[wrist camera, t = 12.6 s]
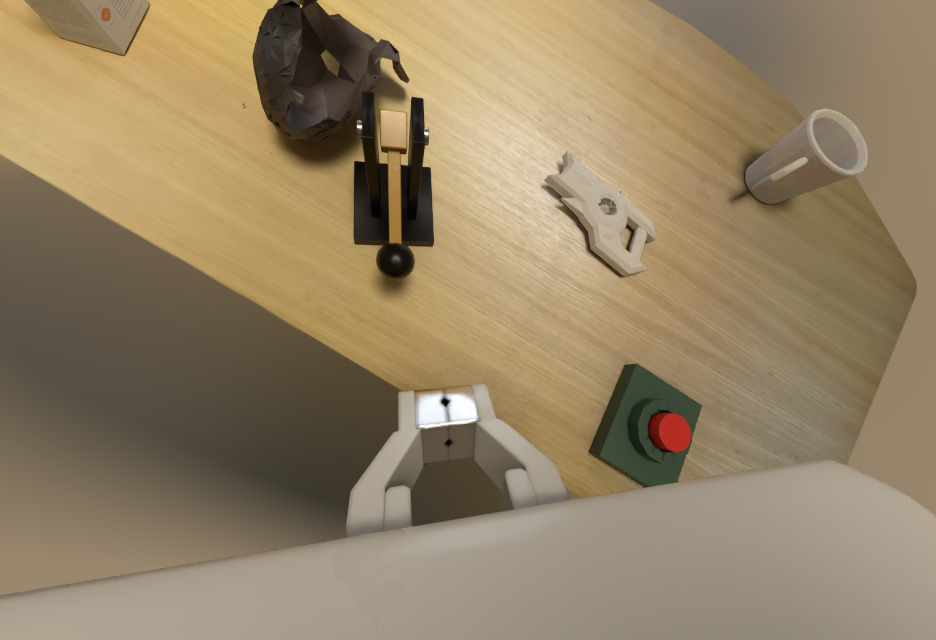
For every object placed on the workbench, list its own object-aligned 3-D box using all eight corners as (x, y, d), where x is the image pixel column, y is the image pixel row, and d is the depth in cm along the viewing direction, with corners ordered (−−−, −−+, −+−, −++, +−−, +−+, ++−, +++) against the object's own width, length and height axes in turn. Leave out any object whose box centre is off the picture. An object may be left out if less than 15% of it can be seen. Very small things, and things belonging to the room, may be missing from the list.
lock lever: (413, 276, 34) (415, 282, 31) (377, 276, 34) (376, 282, 30) (413, 123, 30) (416, 110, 27) (372, 118, 30) (370, 105, 26)
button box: (657, 494, 40) (685, 505, 36) (588, 452, 39) (609, 459, 35) (687, 404, 43) (715, 406, 39) (625, 364, 42) (647, 361, 38)
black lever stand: (432, 246, 40) (451, 175, 27) (355, 244, 38) (333, 166, 25) (429, 173, 42) (445, 73, 29) (355, 167, 40) (336, 57, 27)
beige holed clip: (538, 189, 41) (575, 139, 44) (526, 203, 44) (561, 156, 47) (647, 280, 42) (675, 226, 45) (628, 288, 46) (655, 237, 49)
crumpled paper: (320, 24, 43) (227, 140, 38) (294, -141, 29) (141, 11, 24) (417, 89, 45) (340, 206, 41) (436, -33, 31) (323, 124, 27)
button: (671, 456, 37) (684, 459, 35) (642, 438, 37) (654, 440, 35) (682, 423, 38) (695, 425, 37) (654, 405, 38) (666, 406, 36)
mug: (798, 199, 56) (881, 159, 46) (744, 232, 52) (823, 196, 42) (763, 148, 57) (838, 99, 47) (707, 177, 52) (777, 129, 43)
